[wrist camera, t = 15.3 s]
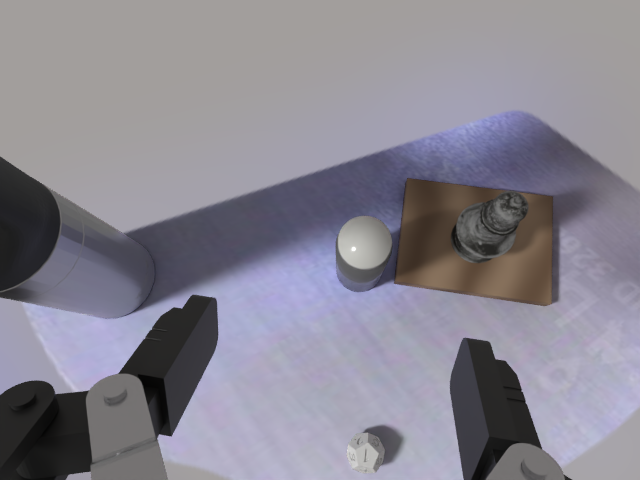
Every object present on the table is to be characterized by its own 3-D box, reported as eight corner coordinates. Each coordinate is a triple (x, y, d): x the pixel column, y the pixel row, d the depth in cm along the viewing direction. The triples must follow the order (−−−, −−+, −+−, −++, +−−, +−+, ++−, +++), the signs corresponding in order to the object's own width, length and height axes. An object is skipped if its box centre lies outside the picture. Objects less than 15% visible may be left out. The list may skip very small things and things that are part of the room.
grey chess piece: (480, 204, 48) (525, 153, 36) (514, 247, 46) (572, 208, 35) (436, 231, 47) (468, 188, 36) (469, 276, 46) (513, 246, 34)
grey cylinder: (333, 288, 47) (331, 265, 37) (339, 245, 49) (340, 209, 38) (378, 295, 47) (390, 273, 36) (384, 251, 48) (397, 217, 37)
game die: (384, 432, 43) (387, 437, 40) (380, 473, 42) (383, 481, 39) (349, 427, 44) (350, 431, 41) (344, 467, 43) (345, 474, 40)
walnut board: (394, 283, 47) (395, 281, 46) (405, 183, 51) (407, 178, 49) (544, 306, 46) (551, 304, 45) (546, 201, 49) (552, 196, 48)
